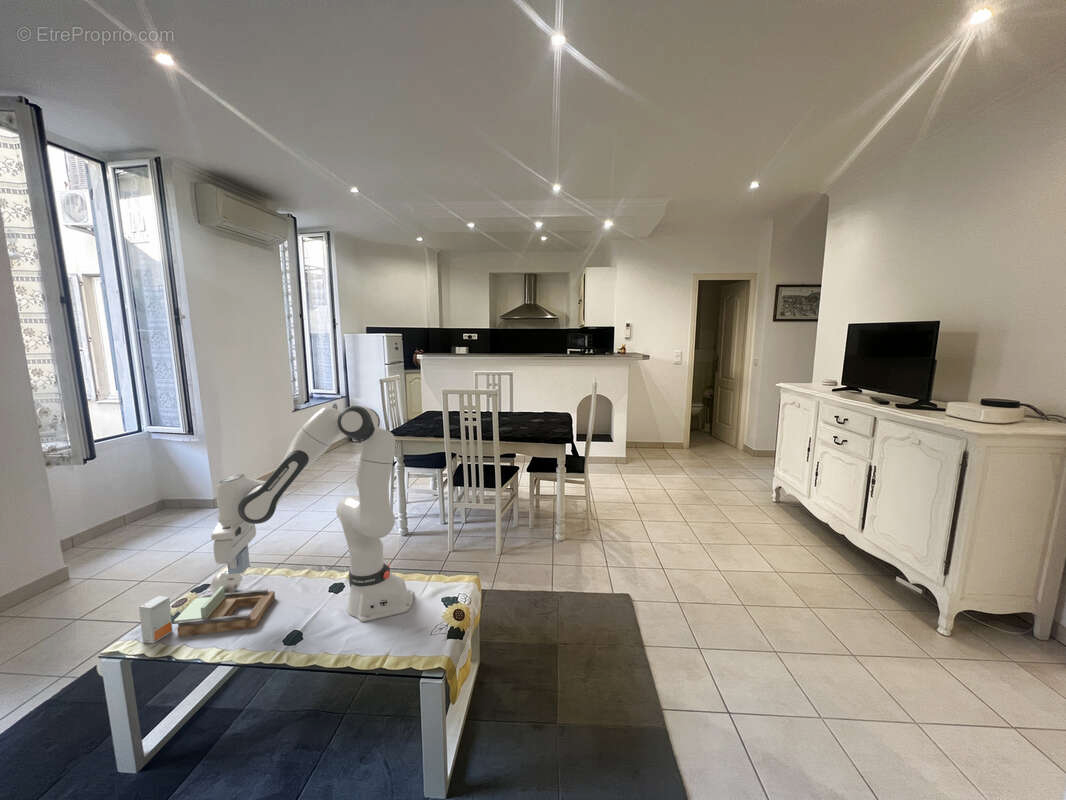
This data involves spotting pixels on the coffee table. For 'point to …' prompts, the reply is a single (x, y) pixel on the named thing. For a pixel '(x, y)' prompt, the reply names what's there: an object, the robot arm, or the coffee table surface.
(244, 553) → the block
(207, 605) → the lid
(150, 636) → the skincare box
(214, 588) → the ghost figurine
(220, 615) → the wooden box frame
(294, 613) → the coffee table surface
